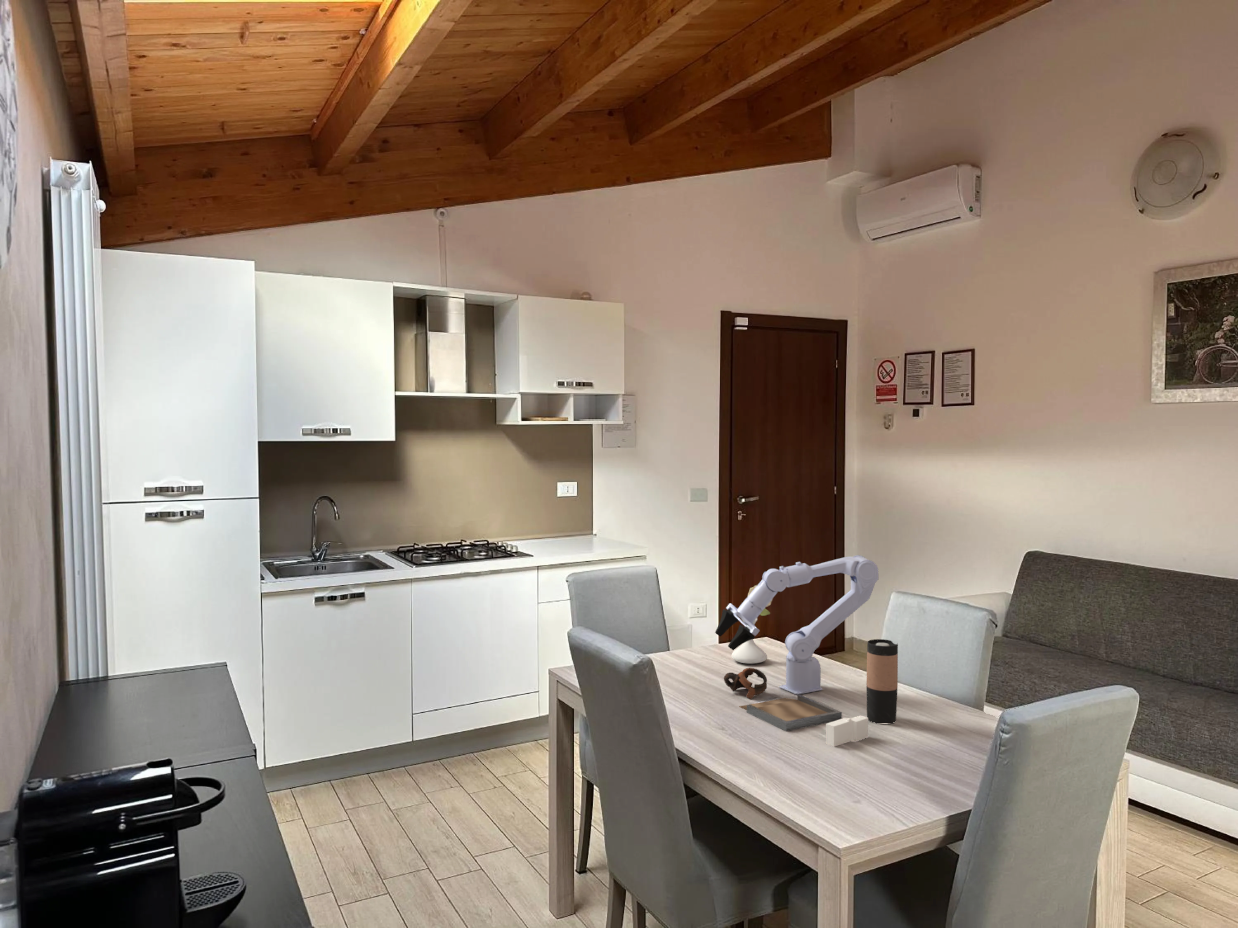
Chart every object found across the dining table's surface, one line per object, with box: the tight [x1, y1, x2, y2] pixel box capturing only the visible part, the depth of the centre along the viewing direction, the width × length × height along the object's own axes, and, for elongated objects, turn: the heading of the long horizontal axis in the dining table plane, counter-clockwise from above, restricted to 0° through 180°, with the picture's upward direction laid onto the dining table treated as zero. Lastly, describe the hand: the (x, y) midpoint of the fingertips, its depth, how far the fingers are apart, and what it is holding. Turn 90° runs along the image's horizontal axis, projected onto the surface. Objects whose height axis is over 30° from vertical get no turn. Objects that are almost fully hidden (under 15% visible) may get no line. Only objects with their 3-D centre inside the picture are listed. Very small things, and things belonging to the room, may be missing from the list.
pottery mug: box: [723, 667, 768, 700], centre depth 248 cm, size 12×10×8 cm
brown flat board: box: [738, 697, 827, 721], centre depth 232 cm, size 16×20×2 cm
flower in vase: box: [730, 584, 773, 664], centre depth 280 cm, size 13×11×25 cm
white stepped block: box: [825, 715, 869, 748], centre depth 211 cm, size 15×11×6 cm
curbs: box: [746, 694, 843, 732], centre depth 229 cm, size 18×16×2 cm
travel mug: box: [865, 638, 899, 724], centre depth 226 cm, size 8×8×20 cm
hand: (723, 641), depth 251 cm, fingers open, 7 cm apart
